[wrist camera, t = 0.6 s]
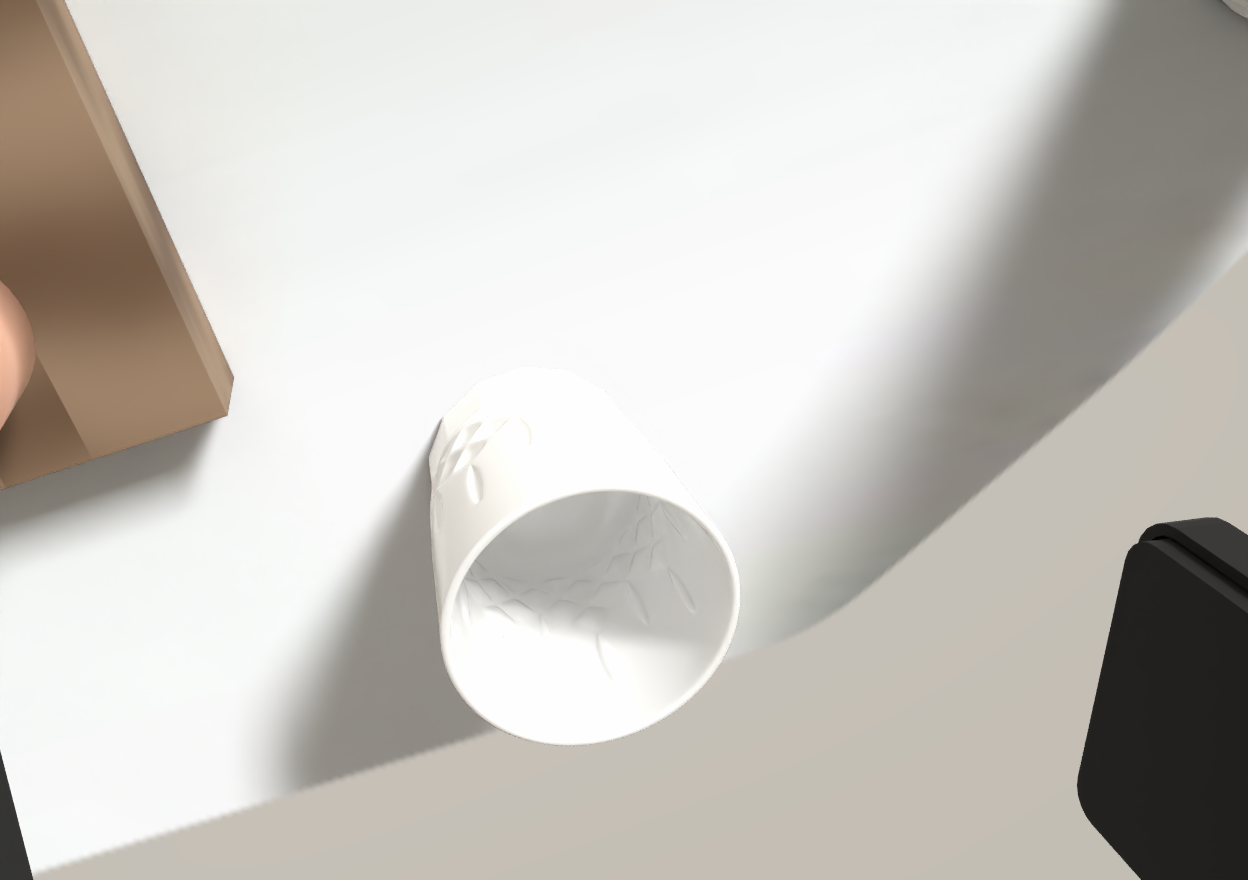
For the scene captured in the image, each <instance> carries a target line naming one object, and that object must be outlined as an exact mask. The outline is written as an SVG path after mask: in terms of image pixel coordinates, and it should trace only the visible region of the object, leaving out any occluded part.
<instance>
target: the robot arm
mask: <svg viewBox="0 0 1248 880" xmlns="http://www.w3.org/2000/svg"><path fill="white" fill-rule="evenodd" d="M1222 1H1223V2H1224V3H1225V4H1226V5H1227V6H1228V7H1230V8H1231V9H1232V10H1233V11H1234V12H1236V13H1238V14H1240V15H1241V16H1243V17H1245V18H1247V19H1248V0H1222ZM1077 788H1078V797H1079V800H1080V804H1081V807H1082V809H1083V811H1084V813H1085V815H1086V817H1087V818H1088V820H1089V821H1090V822H1091V824H1092V825H1093V826H1094V827H1095V828H1096V829H1097V831H1098V832H1099V833H1100V834H1101V835H1102V836H1103V837H1104V838H1105V839H1106V841H1107V842H1108V843H1109V844H1110V845H1111V846H1112V847H1113V849H1114V850H1115V851H1116V852H1117V853H1118V854H1119V855H1120V856H1121V858H1122V859H1123V860H1124V861H1125V862H1126V863H1127V864H1128V865H1129V867H1130V868H1131V869H1132V870H1133V871H1134V872H1135V873H1136V874H1137V876H1138V877H1139V878H1140V879H1141V880H1248V535H1247V534H1245V533H1244V532H1242V531H1241V530H1239V529H1238V528H1236V527H1234V526H1233V525H1231V524H1230V523H1228V522H1226V521H1223V520H1221V519H1219V518H1199V519H1191V520H1182V521H1175V522H1167V523H1159V524H1155V525H1153V526H1151V527H1149V528H1147V529H1146V530H1145V532H1144V533H1143V534H1142V535H1141V537H1140V539H1139V542H1138V543H1137V544H1135V545H1133V546H1132V548H1131V549H1130V550H1129V551H1128V554H1127V556H1126V559H1125V563H1124V568H1123V572H1122V577H1121V581H1120V586H1119V590H1118V595H1117V600H1116V604H1115V609H1114V613H1113V618H1112V623H1111V627H1110V632H1109V636H1108V641H1107V646H1106V650H1105V655H1104V659H1103V664H1102V669H1101V674H1100V678H1099V683H1098V687H1097V692H1096V696H1095V701H1094V705H1093V710H1092V715H1091V719H1090V724H1089V729H1088V733H1087V738H1086V742H1085V747H1084V752H1083V756H1082V761H1081V765H1080V770H1079V774H1078V782H1077ZM0 880H33V877H32V873H31V869H30V865H29V861H28V857H27V853H26V849H25V846H24V842H23V838H22V834H21V830H20V826H19V822H18V818H17V814H16V810H15V807H14V803H13V799H12V795H11V791H10V787H9V783H8V779H7V775H6V771H5V768H4V764H3V760H2V756H1V752H0Z"/></svg>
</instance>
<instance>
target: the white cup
mask: <svg viewBox="0 0 1248 880" xmlns="http://www.w3.org/2000/svg"><path fill="white" fill-rule="evenodd" d="M429 467H430V475H431V483H432V492H431V502H430V525H431V541H432V563H433V570H434V580H435V590H436V601H437V611H438V622H439V633H440V644H441V651H442V656H443V660H444V664H445V667H446V670H447V673H448V675H449V677H450V679H451V681H452V683H453V685H454V687H455V689H456V690H457V692H458V693H459V695H460V696H461V697H462V699H463V700H464V701H465V702H466V703H467V705H468V706H469V707H470V708H471V709H472V710H473V711H474V712H475V713H477V714H478V715H479V716H480V717H481V718H483V719H484V720H485V721H487V722H488V723H490V724H491V725H493V726H494V727H496V728H498V729H500V730H502V731H504V732H506V733H508V734H510V735H513V736H515V737H518V738H521V739H524V740H527V741H531V742H536V743H541V744H548V745H556V746H582V745H591V744H598V743H604V742H608V741H612V740H616V739H620V738H623V737H626V736H628V735H631V734H634V733H637V732H639V731H641V730H644V729H646V728H648V727H650V726H652V725H654V724H656V723H658V722H659V721H661V720H663V719H664V718H666V717H668V716H669V715H670V714H672V713H674V712H675V711H676V710H677V709H679V708H680V707H682V706H683V705H684V704H685V703H686V702H688V701H689V700H690V699H691V698H692V697H693V696H694V695H695V694H696V693H697V692H698V691H699V690H700V689H701V688H702V687H703V686H704V685H705V684H706V682H707V681H708V680H709V679H710V677H711V676H712V675H713V673H714V672H715V671H716V669H717V668H718V666H719V664H720V663H721V661H722V660H723V658H724V656H725V654H726V652H727V650H728V648H729V646H730V643H731V641H732V638H733V636H734V633H735V629H736V626H737V622H738V617H739V610H740V582H739V575H738V571H737V567H736V563H735V560H734V558H733V555H732V553H731V550H730V548H729V546H728V544H727V543H726V541H725V539H724V538H723V536H722V535H721V533H720V532H719V530H718V529H717V528H716V527H715V525H714V524H713V523H712V522H711V520H710V519H709V518H708V516H707V515H706V514H705V513H704V511H703V510H702V509H701V507H700V506H699V505H698V503H697V502H696V501H695V500H694V498H693V497H692V496H691V494H690V493H689V492H688V490H687V489H686V488H685V486H684V485H683V484H682V482H681V481H680V480H679V478H678V477H677V476H676V474H675V473H674V472H673V470H672V469H671V468H670V466H669V465H668V464H667V463H666V462H665V460H664V459H663V458H662V457H661V456H660V455H659V453H658V452H657V451H656V450H655V449H654V448H653V447H652V445H651V444H650V443H649V442H648V440H647V439H646V438H645V437H644V436H643V435H642V433H641V432H640V431H639V430H638V429H637V428H636V427H635V426H634V425H633V424H632V423H631V422H630V421H629V420H628V419H627V418H625V417H624V416H623V415H622V414H621V413H620V411H619V410H618V408H617V407H616V406H615V404H614V403H613V402H612V400H611V399H610V397H609V396H608V395H607V393H606V392H605V391H603V390H601V389H599V388H598V387H596V386H594V385H592V384H591V383H589V382H587V381H585V380H584V379H582V378H580V377H578V376H577V375H575V374H573V373H571V372H570V371H568V370H558V369H543V368H528V367H520V368H517V369H514V370H512V371H509V372H506V373H504V374H501V375H498V376H496V377H493V378H490V379H487V380H485V381H482V382H479V383H477V384H476V385H475V386H474V387H473V388H472V389H471V390H470V391H469V392H468V393H467V394H466V395H465V396H464V397H462V398H461V399H460V400H459V401H458V402H457V403H456V404H455V405H454V406H453V407H452V408H451V409H450V410H449V411H448V412H447V413H446V414H445V415H444V417H443V419H442V422H441V425H440V427H439V430H438V433H437V436H436V439H435V441H434V444H433V447H432V450H431V453H430V455H429Z"/></svg>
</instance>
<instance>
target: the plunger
mask: <svg viewBox="0 0 1248 880" xmlns="http://www.w3.org/2000/svg"><path fill="white" fill-rule="evenodd" d="M34 361H35V343H34V335H33V332H32V328H31V325H30V322H29V320H28V318H27V315H26V313H25V311H24V309H23V308H22V306H21V305H20V303H19V301H18V300H17V299H16V297H15V296H14V295H13V294H12V292H11V291H10V290H9V289H8V288H7V287H6V286H5V285H4V284H3V283H2V282H1V281H0V430H1V428H2V426H3V425H4V423H5V421H6V420H7V418H8V416H9V415H10V413H11V411H12V410H13V408H14V406H15V405H16V403H17V402H18V400H19V398H20V397H21V395H22V393H23V392H24V390H25V388H26V386H27V384H28V382H29V380H30V377H31V374H32V371H33V367H34Z"/></svg>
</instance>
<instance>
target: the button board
mask: <svg viewBox="0 0 1248 880" xmlns="http://www.w3.org/2000/svg"><path fill="white" fill-rule="evenodd" d="M0 281H1V282H2V283H3V284H4V285H5V286H6V287H7V288H8V289H9V290H10V291H11V292H12V294H13V295H14V296H15V297H16V299H17V300H18V301H19V303H20V305H21V306H22V308H23V309H24V311H25V313H26V315H27V318H28V320H29V322H30V325H31V328H32V332H33V335H34V343H35V361H34V367H33V371H32V374H31V377H30V380H29V382H28V384H27V386H26V388H25V390H24V392H23V393H22V395H21V397H20V398H19V400H18V402H17V403H16V405H15V406H14V408H13V410H12V411H11V413H10V415H9V416H8V418H7V420H6V421H5V423H4V425H3V426H2V428H1V430H0V490H2V489H5V488H8V487H11V486H14V485H17V484H21V483H24V482H27V481H30V480H33V479H36V478H39V477H42V476H45V475H48V474H51V473H54V472H57V471H60V470H63V469H66V468H69V467H72V466H75V465H79V464H82V463H85V462H88V461H91V460H94V459H97V458H100V457H103V456H106V455H109V454H112V453H115V452H118V451H121V450H124V449H127V448H130V447H133V446H136V445H140V444H143V443H146V442H149V441H152V440H155V439H158V438H161V437H164V436H167V435H170V434H173V433H176V432H179V431H182V430H185V429H188V428H191V427H194V426H198V425H201V424H204V423H207V422H210V421H213V420H216V419H219V418H222V417H225V416H227V415H228V409H229V403H230V398H231V392H232V386H233V380H234V377H233V374H232V372H231V370H230V368H229V365H228V363H227V361H226V359H225V357H224V354H223V352H222V350H221V348H220V345H219V343H218V341H217V339H216V337H215V334H214V332H213V330H212V328H211V325H210V323H209V321H208V319H207V317H206V314H205V312H204V310H203V308H202V305H201V303H200V301H199V299H198V297H197V294H196V292H195V290H194V288H193V285H192V283H191V281H190V279H189V277H188V274H187V272H186V270H185V268H184V265H183V263H182V261H181V259H180V257H179V254H178V252H177V250H176V248H175V245H174V243H173V241H172V239H171V236H170V234H169V232H168V230H167V228H166V225H165V223H164V221H163V219H162V216H161V214H160V212H159V210H158V208H157V205H156V203H155V201H154V199H153V196H152V194H151V192H150V190H149V188H148V185H147V183H146V181H145V179H144V176H143V174H142V172H141V170H140V168H139V165H138V163H137V161H136V159H135V156H134V154H133V152H132V150H131V148H130V145H129V143H128V141H127V139H126V136H125V134H124V132H123V130H122V128H121V125H120V123H119V121H118V119H117V116H116V114H115V112H114V110H113V107H112V105H111V103H110V101H109V99H108V96H107V94H106V92H105V90H104V87H103V85H102V83H101V81H100V79H99V76H98V74H97V72H96V70H95V67H94V65H93V63H92V61H91V59H90V56H89V54H88V52H87V50H86V47H85V45H84V43H83V41H82V39H81V36H80V34H79V32H78V30H77V27H76V25H75V23H74V21H73V19H72V16H71V14H70V12H69V10H68V7H67V5H66V3H65V1H64V0H0Z"/></svg>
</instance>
